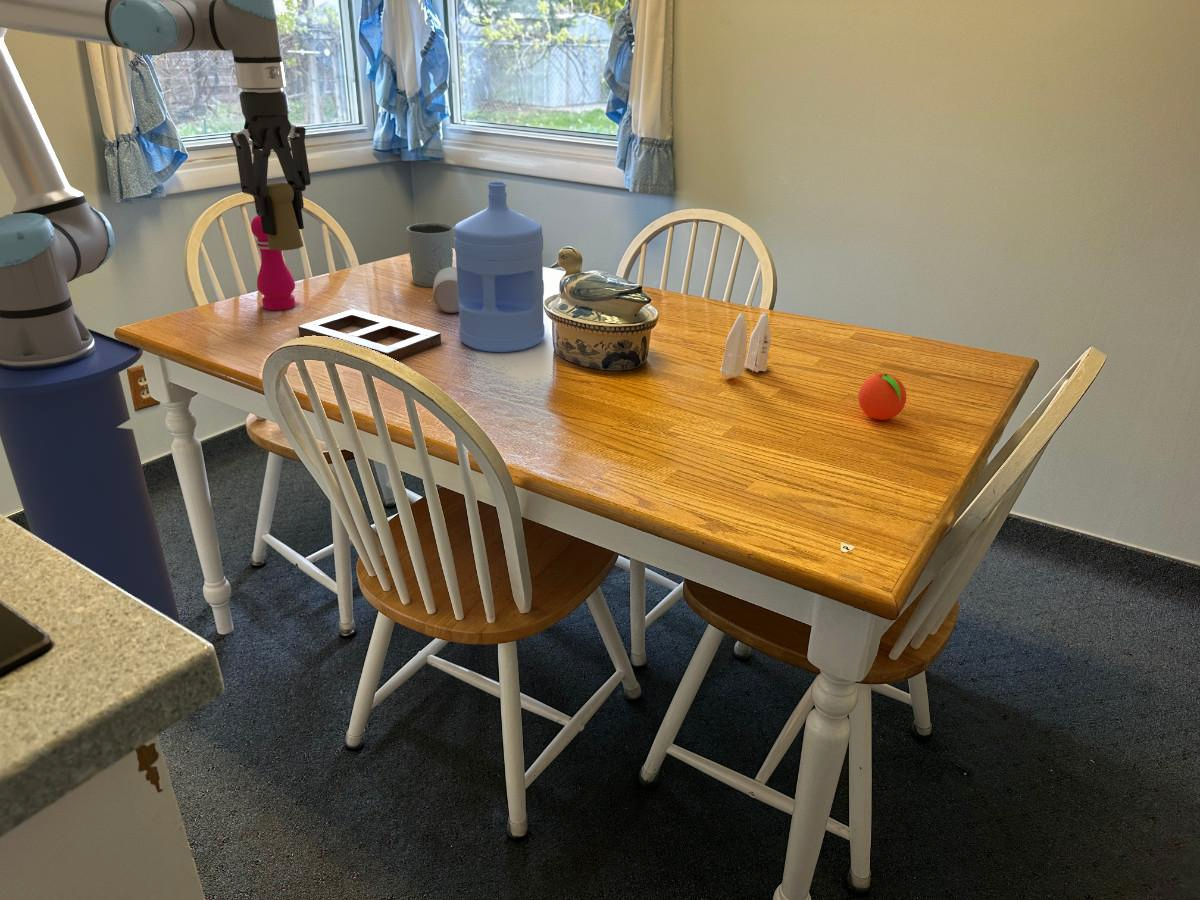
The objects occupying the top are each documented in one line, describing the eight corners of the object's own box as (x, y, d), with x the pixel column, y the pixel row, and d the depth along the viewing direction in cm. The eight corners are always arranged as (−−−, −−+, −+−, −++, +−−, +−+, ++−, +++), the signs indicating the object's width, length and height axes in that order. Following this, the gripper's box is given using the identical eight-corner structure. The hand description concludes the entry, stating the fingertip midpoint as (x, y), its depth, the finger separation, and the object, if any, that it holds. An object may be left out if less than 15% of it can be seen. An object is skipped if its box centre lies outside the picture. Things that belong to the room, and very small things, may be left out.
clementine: (915, 427, 131) (924, 383, 127) (874, 432, 129) (882, 388, 126) (885, 406, 138) (893, 364, 134) (846, 411, 136) (853, 368, 133)
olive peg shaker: (275, 242, 160) (265, 179, 155) (308, 242, 160) (299, 180, 155) (263, 250, 155) (252, 185, 150) (297, 250, 155) (287, 186, 150)
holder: (388, 364, 151) (387, 353, 150) (299, 336, 162) (297, 326, 161) (441, 343, 160) (440, 333, 159) (353, 318, 172) (352, 309, 171)
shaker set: (731, 387, 144) (737, 322, 139) (711, 380, 146) (716, 316, 141) (774, 369, 151) (781, 307, 146) (754, 362, 154) (760, 301, 149)
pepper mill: (302, 307, 178) (288, 207, 169) (266, 313, 174) (250, 211, 165) (291, 298, 183) (277, 200, 174) (256, 304, 179) (240, 204, 170)
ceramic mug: (433, 315, 174) (431, 277, 171) (435, 303, 182) (433, 266, 178) (486, 315, 176) (485, 277, 172) (486, 302, 183) (485, 266, 180)
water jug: (475, 322, 171) (468, 173, 158) (553, 329, 168) (552, 178, 156) (447, 349, 157) (436, 189, 145) (531, 357, 155) (528, 194, 142)
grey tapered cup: (412, 275, 200) (408, 222, 195) (457, 275, 201) (454, 222, 196) (408, 288, 191) (404, 233, 186) (455, 287, 192) (452, 232, 187)
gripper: (228, 95, 137) (253, 243, 148) (321, 88, 151) (338, 224, 161) (199, 92, 141) (225, 237, 151) (293, 85, 154) (311, 219, 165)
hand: (283, 230), depth 156 cm, fingers closed on olive peg shaker, 5 cm apart
